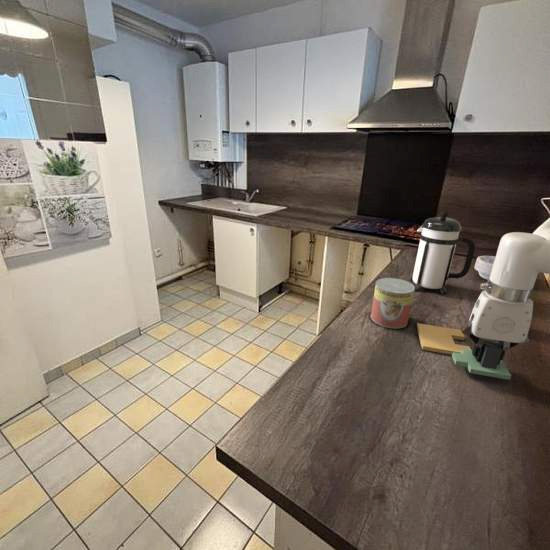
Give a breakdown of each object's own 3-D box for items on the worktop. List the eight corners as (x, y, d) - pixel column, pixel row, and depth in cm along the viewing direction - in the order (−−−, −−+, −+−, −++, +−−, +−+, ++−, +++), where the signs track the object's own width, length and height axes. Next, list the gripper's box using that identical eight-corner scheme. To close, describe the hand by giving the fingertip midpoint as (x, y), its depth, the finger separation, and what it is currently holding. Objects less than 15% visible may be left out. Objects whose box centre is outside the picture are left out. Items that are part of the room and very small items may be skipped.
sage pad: (496, 358, 73) (504, 336, 70) (510, 380, 66) (518, 356, 63) (449, 350, 76) (455, 329, 73) (457, 370, 69) (463, 348, 66)
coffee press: (432, 299, 106) (452, 217, 94) (399, 282, 119) (412, 209, 108) (464, 291, 112) (486, 213, 101) (429, 276, 126) (445, 206, 114)
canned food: (369, 324, 90) (374, 289, 86) (371, 307, 100) (376, 275, 95) (408, 331, 87) (416, 296, 82) (407, 313, 96) (414, 280, 92)
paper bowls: (501, 272, 131) (506, 255, 127) (524, 286, 117) (531, 268, 113) (465, 270, 132) (470, 254, 129) (484, 284, 118) (490, 266, 115)
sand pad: (460, 333, 86) (461, 329, 86) (472, 358, 76) (473, 354, 75) (416, 326, 89) (417, 323, 89) (422, 349, 79) (423, 345, 78)
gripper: (469, 293, 62) (450, 363, 69) (564, 303, 57) (534, 377, 64) (460, 279, 68) (444, 344, 75) (545, 287, 63) (519, 356, 71)
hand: (485, 359), depth 70 cm, fingers closed on sage pad, 3 cm apart
